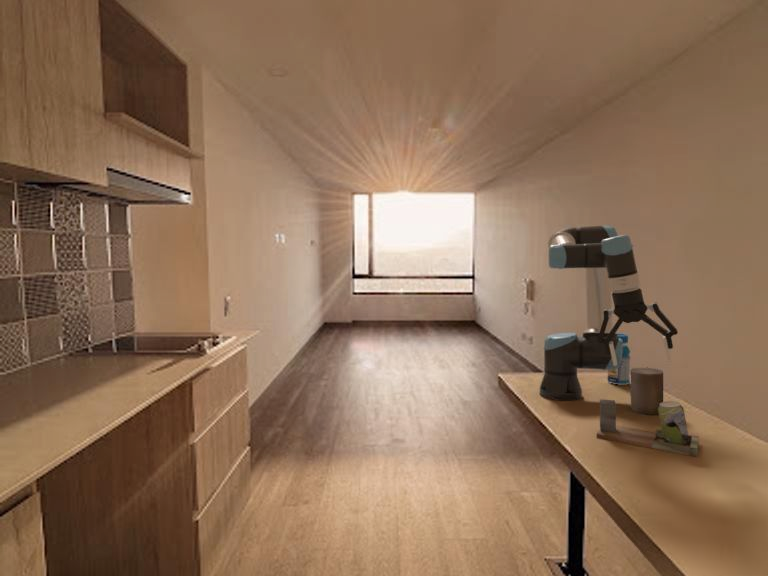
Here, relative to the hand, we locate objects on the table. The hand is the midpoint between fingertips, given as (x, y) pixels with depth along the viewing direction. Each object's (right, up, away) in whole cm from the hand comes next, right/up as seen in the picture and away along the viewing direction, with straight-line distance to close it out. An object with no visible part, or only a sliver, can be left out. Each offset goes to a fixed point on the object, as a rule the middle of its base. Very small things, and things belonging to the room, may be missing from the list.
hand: (641, 362), depth 131 cm
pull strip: (+1, -22, -1) cm, 22 cm away
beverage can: (+6, -22, -5) cm, 24 cm away
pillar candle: (+15, -20, +24) cm, 35 cm away
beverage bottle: (+23, -18, +58) cm, 65 cm away
